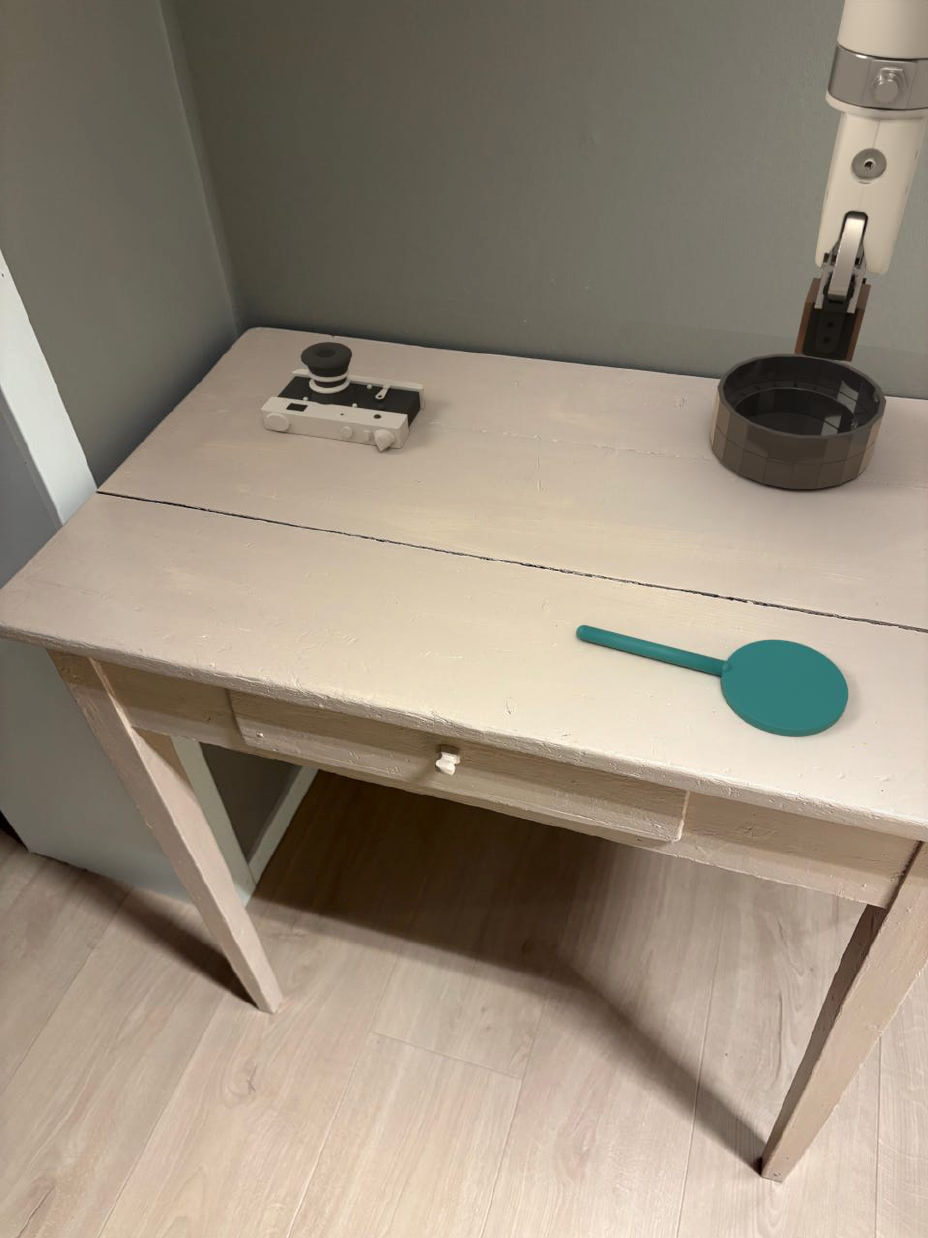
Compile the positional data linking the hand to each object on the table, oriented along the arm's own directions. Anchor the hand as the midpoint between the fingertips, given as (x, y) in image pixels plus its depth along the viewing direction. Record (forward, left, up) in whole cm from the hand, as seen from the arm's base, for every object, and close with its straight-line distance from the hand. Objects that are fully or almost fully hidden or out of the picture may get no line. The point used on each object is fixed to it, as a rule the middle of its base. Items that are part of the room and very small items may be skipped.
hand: (828, 338), depth 73 cm
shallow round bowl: (+2, -12, -18) cm, 21 cm away
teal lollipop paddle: (+2, +20, -18) cm, 27 cm away
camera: (+46, -2, -18) cm, 49 cm away
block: (0, 0, -1) cm, 1 cm away
